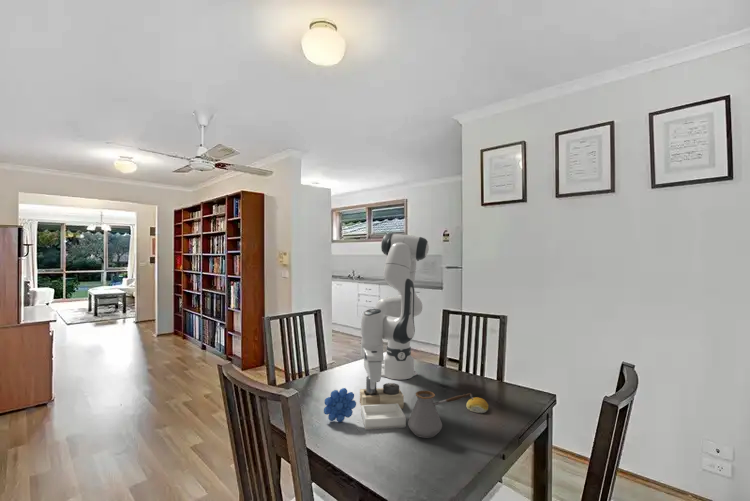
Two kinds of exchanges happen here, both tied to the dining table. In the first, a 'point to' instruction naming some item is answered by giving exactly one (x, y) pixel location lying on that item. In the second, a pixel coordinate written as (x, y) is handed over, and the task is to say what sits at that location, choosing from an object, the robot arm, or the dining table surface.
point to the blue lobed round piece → (339, 405)
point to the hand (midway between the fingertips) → (371, 386)
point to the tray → (382, 416)
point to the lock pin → (368, 389)
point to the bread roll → (477, 405)
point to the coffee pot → (427, 414)
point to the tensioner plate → (383, 396)
